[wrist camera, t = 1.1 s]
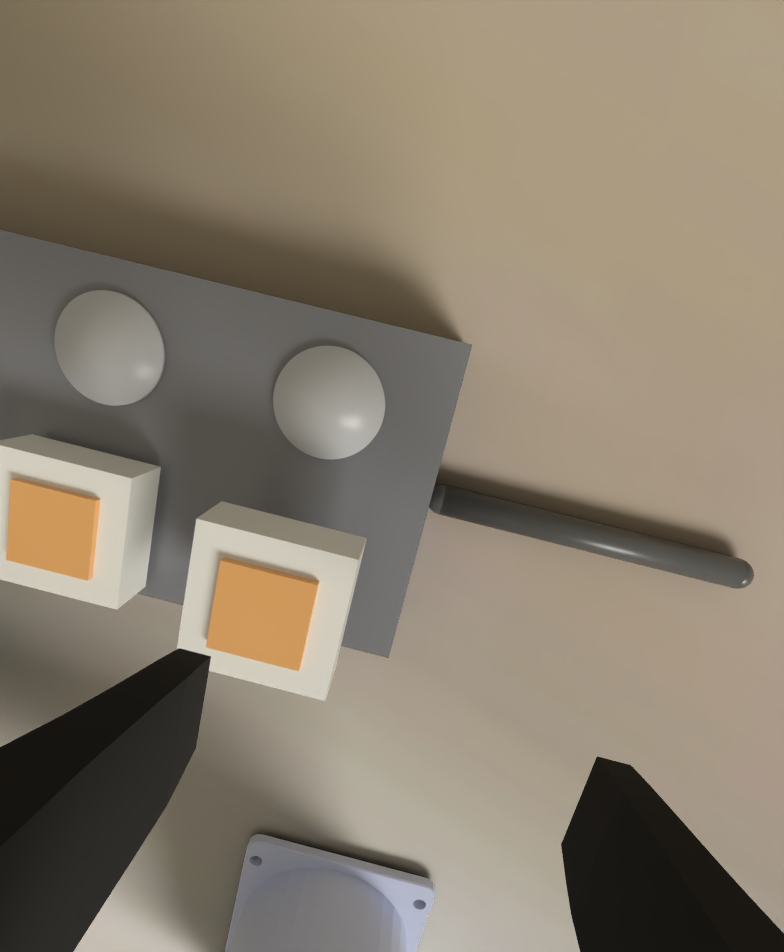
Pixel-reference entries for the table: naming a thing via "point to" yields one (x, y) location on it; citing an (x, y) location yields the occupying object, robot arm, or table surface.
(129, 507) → the button
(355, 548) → the button
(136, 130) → the table surface
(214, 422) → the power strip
